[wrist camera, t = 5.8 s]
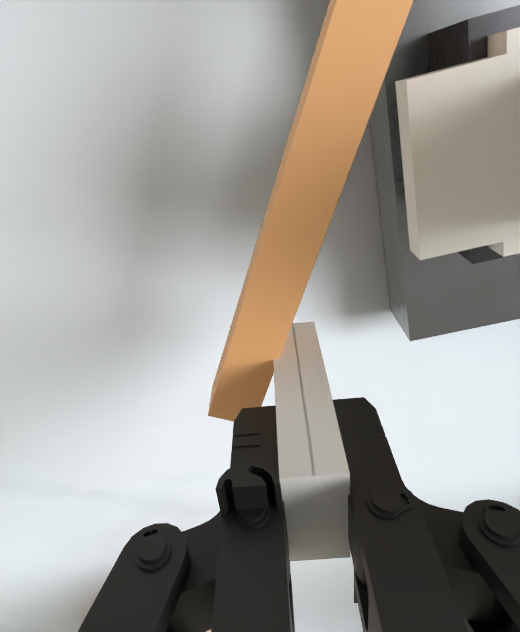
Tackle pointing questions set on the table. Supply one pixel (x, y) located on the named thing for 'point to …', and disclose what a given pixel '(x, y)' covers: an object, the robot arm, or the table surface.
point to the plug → (463, 153)
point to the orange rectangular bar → (306, 191)
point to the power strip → (401, 264)
